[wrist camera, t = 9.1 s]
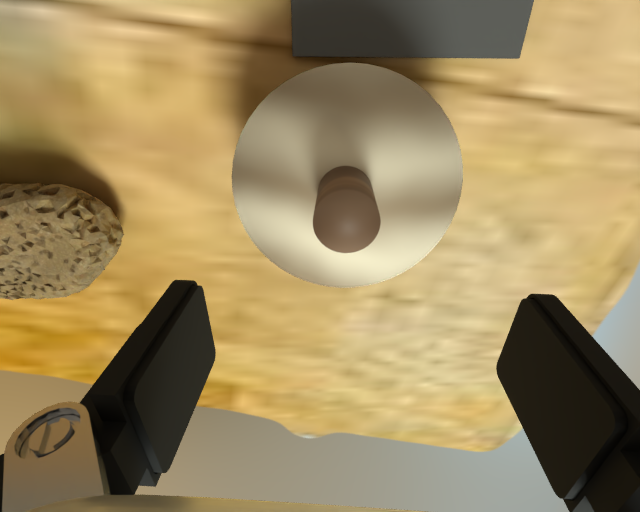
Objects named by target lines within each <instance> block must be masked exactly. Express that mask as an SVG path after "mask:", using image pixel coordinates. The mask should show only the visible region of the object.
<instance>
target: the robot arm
mask: <svg viewBox="0 0 640 512" xmlns="http://www.w3.org/2000/svg"><path fill="white" fill-rule="evenodd" d="M214 361H215V346H214V341H213V336H212V331H211V326H210V321H209V316H208V311H207V306H206V301H205V296H204V291H203V288H202V286H197V283H196V282H195V281H190V280H174V281H173V282H172V283H171V285H170V286H169V287H168V289H167V290H166V291H165V293H164V294H163V295H162V297H161V298H160V299H159V301H158V302H157V303H156V305H155V306H154V307H153V309H152V310H151V311H150V313H149V314H148V315H147V317H146V318H145V319H144V321H143V322H142V323H141V324H140V325H139V326H138V327H137V328H136V329H135V330H134V332H133V333H132V334H131V336H130V337H129V338H128V340H127V341H126V342H125V344H124V345H123V346H122V348H121V349H120V350H119V352H118V353H117V354H116V356H115V357H114V358H113V360H112V361H111V362H110V364H109V365H108V366H107V367H106V369H105V370H104V371H103V373H102V374H101V375H100V377H99V378H98V379H97V381H96V382H95V383H94V385H93V386H92V388H91V389H90V390H89V391H88V393H87V394H86V395H85V397H84V398H83V399H82V401H81V402H80V403H77V402H63V403H58V404H55V405H52V406H49V407H46V408H44V409H43V410H41V411H39V412H37V413H35V414H34V415H32V416H31V417H30V418H28V419H27V420H25V421H24V422H23V423H22V424H21V425H20V426H19V427H18V428H17V429H16V430H15V431H14V432H13V434H12V435H11V437H10V439H9V440H8V442H7V445H6V448H5V453H4V454H2V455H0V512H426V511H411V510H396V509H381V508H366V507H351V506H336V505H335V506H334V505H320V504H304V503H288V502H273V501H256V500H240V499H224V498H207V497H205V498H204V497H182V496H160V495H159V496H158V495H134V494H135V492H136V490H137V488H138V486H139V485H140V486H156V485H157V482H158V480H159V478H160V475H161V473H166V472H167V471H168V469H169V468H170V466H171V464H172V461H173V459H174V457H175V454H176V452H177V450H178V447H179V445H180V442H181V440H182V437H183V435H184V433H185V430H186V428H187V426H188V423H189V421H190V418H191V416H192V414H193V411H194V409H195V407H196V404H197V402H198V399H199V397H200V395H201V392H202V390H203V387H204V385H205V383H206V380H207V378H208V375H209V373H210V371H211V368H212V366H213V363H214ZM496 369H497V375H498V378H499V380H500V382H501V384H502V386H503V388H504V390H505V392H506V394H507V396H508V398H509V400H510V402H511V404H512V406H513V408H514V410H515V412H516V414H517V417H518V419H519V421H520V423H521V425H522V427H523V429H524V431H525V433H526V435H527V437H528V439H529V441H530V443H531V445H532V447H533V449H534V451H535V454H536V455H537V457H538V460H539V462H540V464H541V466H542V468H543V470H544V472H545V474H546V476H547V478H548V480H549V482H550V484H551V486H552V488H553V490H554V492H555V494H556V495H557V496H558V497H559V498H562V499H563V500H564V502H565V504H566V506H567V508H568V510H569V511H570V512H640V390H639V389H638V388H637V387H636V385H635V384H634V383H633V382H632V381H631V380H630V379H629V378H628V376H627V375H626V374H625V373H624V372H623V371H622V370H621V369H620V368H619V367H618V365H617V364H616V363H615V362H614V361H613V360H612V359H611V357H610V356H609V355H608V354H607V353H606V352H605V351H604V350H603V348H602V347H601V346H600V345H599V344H598V343H597V342H596V341H595V340H594V338H593V337H592V336H591V335H590V334H589V333H588V332H587V330H586V329H585V328H584V327H583V326H582V325H581V324H580V323H579V321H578V320H577V319H576V318H575V317H574V316H573V315H572V314H571V312H570V311H569V310H568V309H567V308H566V307H565V306H564V305H563V303H562V302H561V301H560V300H559V299H558V298H557V297H556V296H555V295H549V294H530V295H529V296H528V297H527V299H523V300H522V301H521V302H520V305H519V307H518V310H517V313H516V315H515V318H514V321H513V323H512V326H511V328H510V331H509V334H508V336H507V339H506V341H505V344H504V347H503V349H502V352H501V355H500V357H499V360H498V362H497V368H496Z"/></svg>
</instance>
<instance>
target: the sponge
mask: <svg viewBox="0 0 640 512" xmlns="http://www.w3.org/2000/svg"><path fill="white" fill-rule="evenodd" d="M123 235H124V234H123V230H122V227H121V225H120V223H119V220H118V219H117V217H116V216H115V215H114V213H113V211H112V209H111V208H110V207H108V206H107V205H106V204H104V203H103V202H102V201H101V200H99V199H97V198H96V197H93V196H92V195H90V194H88V193H87V192H84V191H82V190H80V189H77V188H73V187H70V186H67V185H63V184H50V185H47V186H45V185H42V184H40V183H34V184H7V183H4V184H1V185H0V298H4V299H10V300H13V299H19V298H24V299H26V298H34V299H43V298H47V299H48V298H59V297H67V296H69V295H71V294H72V293H78V292H80V291H81V290H83V289H85V288H87V287H88V286H89V285H90V284H91V283H92V282H93V281H94V280H95V279H96V278H97V277H98V276H99V275H100V274H101V272H102V271H103V270H105V267H106V266H107V265H108V264H109V262H110V260H111V259H112V258H113V257H114V256H115V255H116V253H117V252H118V249H119V247H120V245H121V239H122V237H123Z"/></svg>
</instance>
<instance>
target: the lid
mask: <svg viewBox="0 0 640 512" xmlns="http://www.w3.org/2000/svg"><path fill="white" fill-rule="evenodd" d="M462 182H463V164H462V157H461V150H460V146H459V143H458V139H457V136H456V133H455V131H454V129H453V127H452V125H451V122H450V120H449V119H448V117H447V116H446V114H445V113H444V111H443V110H442V108H441V107H440V105H439V104H438V103H437V102H436V101H435V100H434V99H433V98H432V96H431V95H430V94H429V93H427V92H426V91H425V90H424V89H423V88H421V87H420V86H419V85H418V84H417V83H415V82H413V81H412V80H410V79H408V78H407V77H405V76H403V75H401V74H399V73H396V72H394V71H392V70H389V69H387V68H383V67H379V66H375V65H370V64H362V63H337V64H330V65H325V66H321V67H316V68H313V69H311V70H308V71H305V72H303V73H300V74H298V75H296V76H294V77H293V78H291V79H289V80H287V81H286V82H284V83H283V84H281V85H280V86H279V87H277V88H276V89H275V90H273V91H272V92H271V93H270V94H269V95H268V96H267V97H266V98H265V99H264V100H263V101H262V102H261V103H260V104H259V105H258V107H257V108H256V109H255V111H254V112H253V113H252V115H251V116H250V118H249V119H248V121H247V123H246V125H245V127H244V129H243V130H242V132H241V135H240V138H239V141H238V143H237V146H236V150H235V155H234V159H233V168H232V188H233V195H234V201H235V205H236V208H237V212H238V215H239V218H240V220H241V222H242V224H243V226H244V228H245V230H246V232H247V233H248V235H249V237H250V238H251V240H252V241H253V243H254V244H255V245H256V246H257V247H258V249H259V250H260V251H261V252H262V253H263V254H264V255H265V256H266V257H267V258H268V259H269V260H270V261H271V262H273V263H274V264H275V265H277V266H278V267H279V268H281V269H282V270H284V271H286V272H288V273H289V274H291V275H293V276H295V277H297V278H300V279H302V280H305V281H308V282H311V283H314V284H318V285H323V286H328V287H339V288H348V287H360V286H367V285H372V284H376V283H380V282H382V281H385V280H388V279H391V278H393V277H395V276H397V275H399V274H401V273H403V272H405V271H406V270H408V269H409V268H411V267H413V266H414V265H416V264H417V263H418V262H419V261H420V260H422V259H423V258H424V257H425V256H426V255H427V254H428V253H429V252H430V251H431V250H432V249H433V248H434V247H435V246H436V245H437V243H438V242H439V241H440V239H441V238H442V237H443V235H444V234H445V232H446V230H447V229H448V227H449V225H450V224H451V221H452V219H453V217H454V214H455V212H456V210H457V206H458V203H459V199H460V196H461V189H462Z"/></svg>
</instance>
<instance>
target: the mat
mask: <svg viewBox="0 0 640 512" xmlns="http://www.w3.org/2000/svg"><path fill="white" fill-rule="evenodd" d="M533 2H534V0H291V10H292V49H293V56H308V57H412V58H516V59H517V58H520V54H521V50H522V46H523V42H524V38H525V34H526V30H527V26H528V22H529V18H530V14H531V10H532V6H533Z"/></svg>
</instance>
